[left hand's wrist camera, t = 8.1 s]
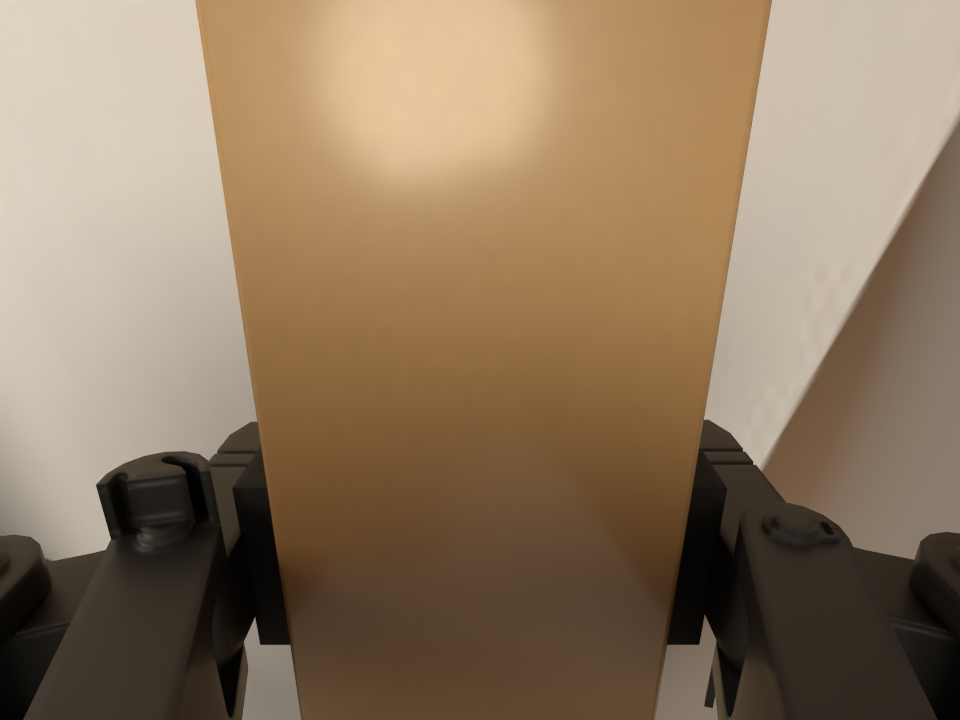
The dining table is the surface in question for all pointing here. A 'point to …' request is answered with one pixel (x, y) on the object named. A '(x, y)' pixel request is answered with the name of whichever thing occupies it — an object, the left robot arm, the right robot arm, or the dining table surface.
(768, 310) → the dining table surface
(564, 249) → the post
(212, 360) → the dining table surface
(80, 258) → the dining table surface
